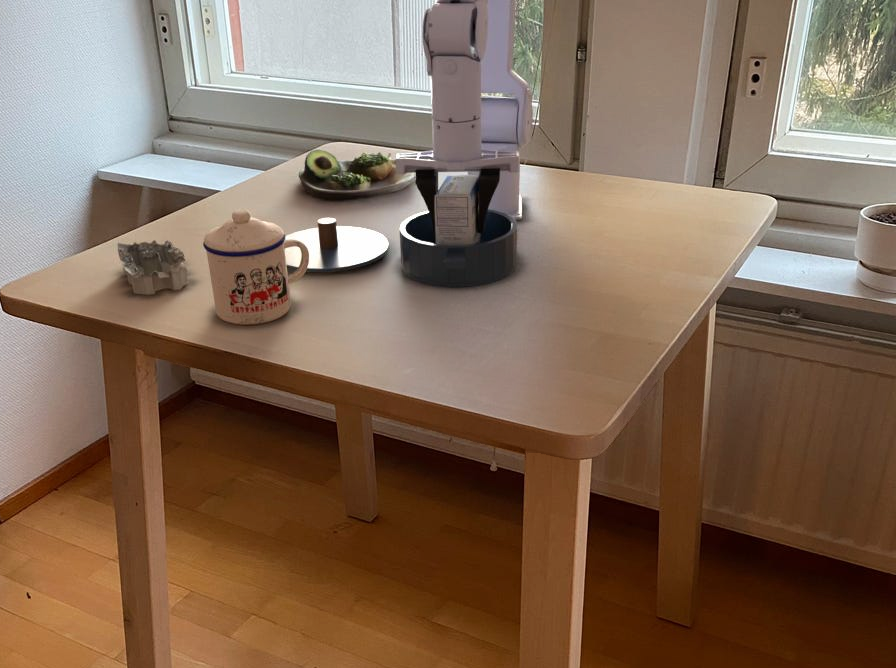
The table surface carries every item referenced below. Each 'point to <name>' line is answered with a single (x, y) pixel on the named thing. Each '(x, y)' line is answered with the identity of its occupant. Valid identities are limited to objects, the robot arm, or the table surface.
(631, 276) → the table surface
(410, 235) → the pot
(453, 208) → the medicine box
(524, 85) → the robot arm
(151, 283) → the egg carton
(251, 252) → the teacup with lid
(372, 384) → the table surface
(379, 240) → the pot lid
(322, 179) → the salad plate
